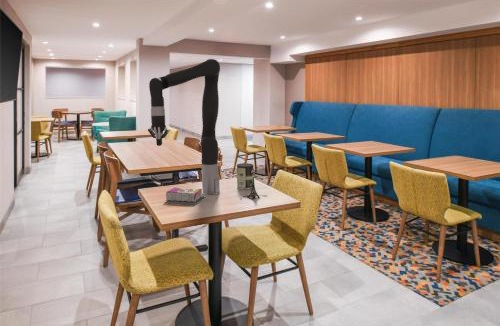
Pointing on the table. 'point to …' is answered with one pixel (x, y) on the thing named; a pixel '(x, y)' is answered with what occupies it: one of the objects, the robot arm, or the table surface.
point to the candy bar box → (184, 194)
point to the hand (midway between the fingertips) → (159, 145)
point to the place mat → (186, 202)
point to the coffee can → (244, 176)
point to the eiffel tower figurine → (253, 193)
